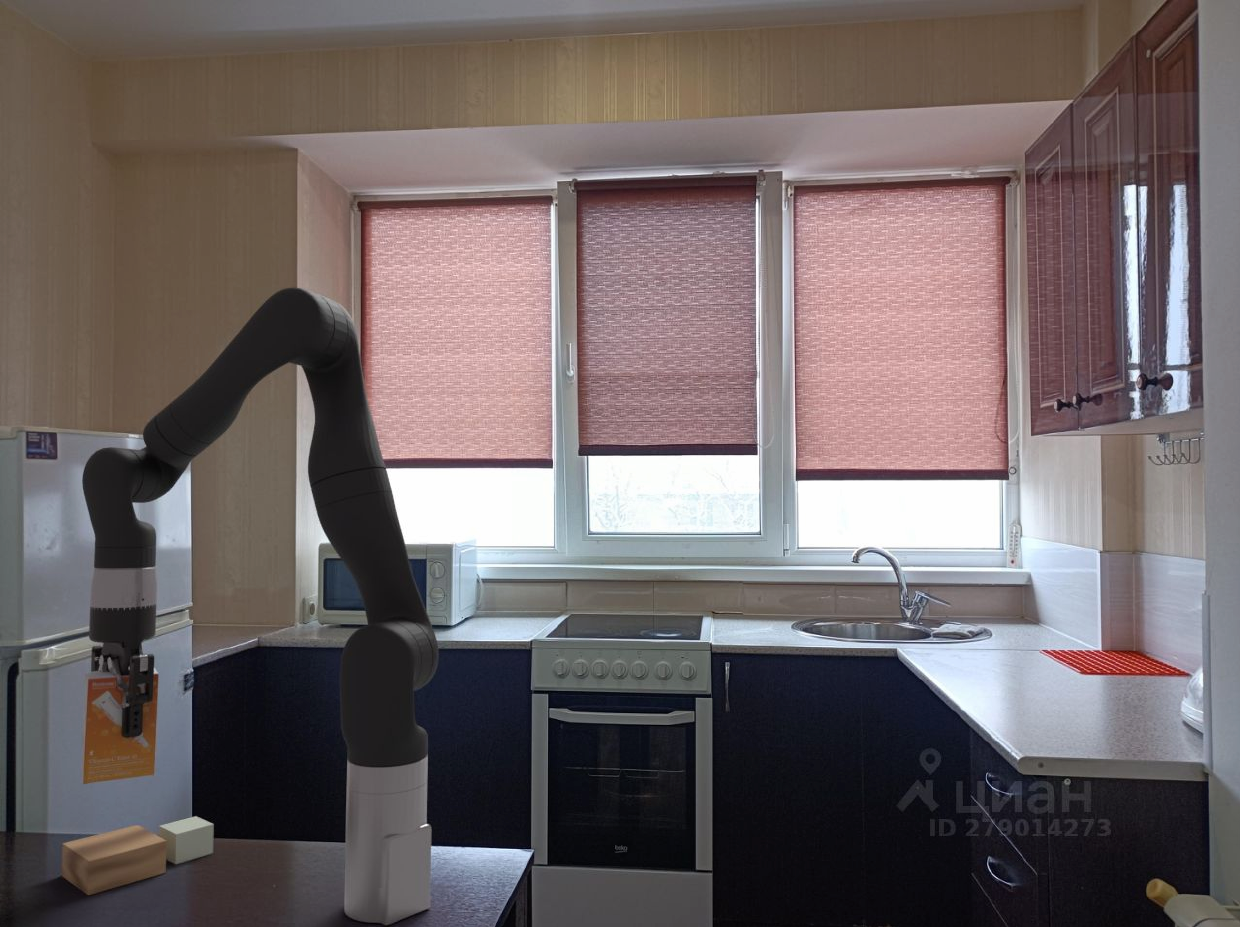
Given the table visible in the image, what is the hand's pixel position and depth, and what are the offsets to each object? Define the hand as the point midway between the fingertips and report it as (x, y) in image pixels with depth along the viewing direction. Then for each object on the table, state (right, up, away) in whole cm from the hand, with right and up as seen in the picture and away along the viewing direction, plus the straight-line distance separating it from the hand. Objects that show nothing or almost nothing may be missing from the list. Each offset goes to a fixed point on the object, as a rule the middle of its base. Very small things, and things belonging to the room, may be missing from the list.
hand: (119, 731), depth 115 cm
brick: (+6, -18, +6) cm, 20 cm away
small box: (0, -6, 0) cm, 6 cm away
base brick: (0, -18, -1) cm, 18 cm away
